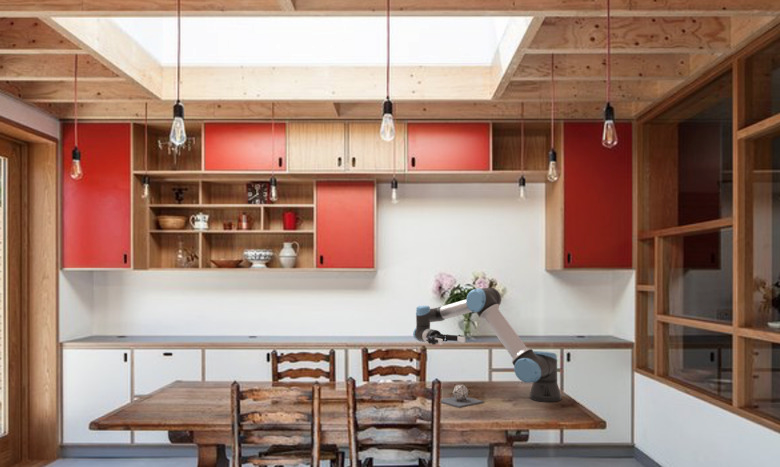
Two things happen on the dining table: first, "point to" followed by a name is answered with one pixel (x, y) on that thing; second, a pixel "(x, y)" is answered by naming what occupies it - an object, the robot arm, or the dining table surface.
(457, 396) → the game die
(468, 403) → the mat
